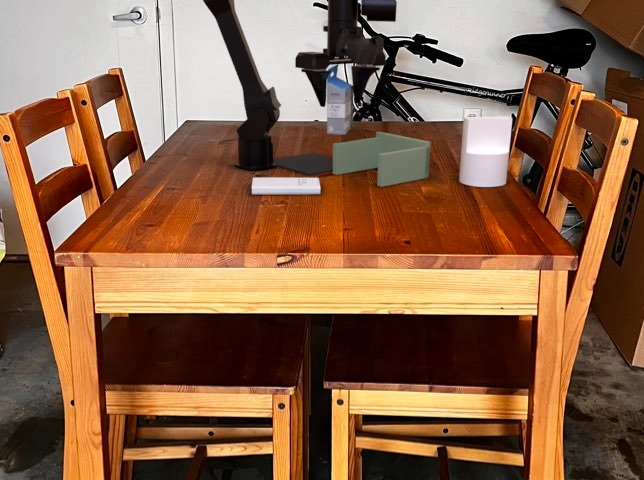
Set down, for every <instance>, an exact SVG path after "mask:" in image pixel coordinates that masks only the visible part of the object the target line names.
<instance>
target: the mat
mask: <svg viewBox="0 0 644 480" xmlns="http://www.w3.org/2000/svg"><path fill="white" fill-rule="evenodd" d="M272 164H276V167H278V168H282V169H286V170H288V171H293V172H295V173H299V174H304V175H307V176H314V175H319V174H325V173H331V172H332V173H333V156H330V155H324V154H321V153H317V152H310V153H304V154H297V155H291V156H283V157H278V158H273V163H272Z"/></svg>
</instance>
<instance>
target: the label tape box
mask: <svg viewBox="0 0 644 480" xmlns="http://www.w3.org/2000/svg"><path fill="white" fill-rule="evenodd" d="M338 69H339V64H335V65H332V67H328V68H327V71H331V73H330V74H329V76H328V78H327V88H326V134H328V135H346V134H347V133H348V132H349V131H350V130H351V129H352V128H353V127H354V93H353V84H351V83H349V82H347V81H346V80H343V79H341V78H340V77H338Z"/></svg>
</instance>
